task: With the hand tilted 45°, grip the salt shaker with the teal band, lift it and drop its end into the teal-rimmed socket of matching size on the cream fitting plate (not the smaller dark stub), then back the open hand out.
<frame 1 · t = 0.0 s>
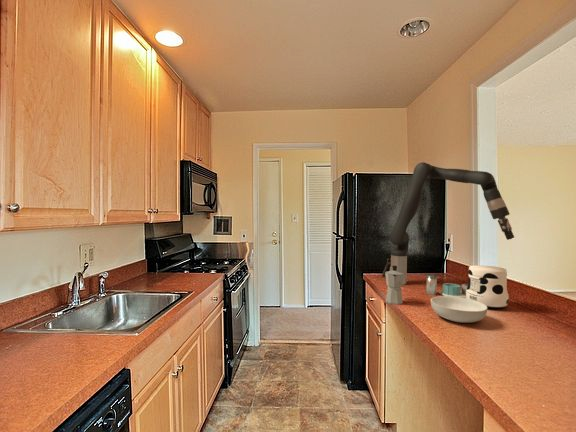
hand: (510, 238, 158), 31 cm above the worktop, tool tilted 20°, fingers open, 8 cm apart
coffee maker: (394, 301, 157), on the worktop
milk container: (486, 305, 152), on the worktop
salt shaker: (431, 293, 172), on the worktop
fitting plate: (459, 295, 168), on the worktop
serving bowl: (457, 319, 132), on the worktop
door stopper: (389, 276, 217), on the worktop
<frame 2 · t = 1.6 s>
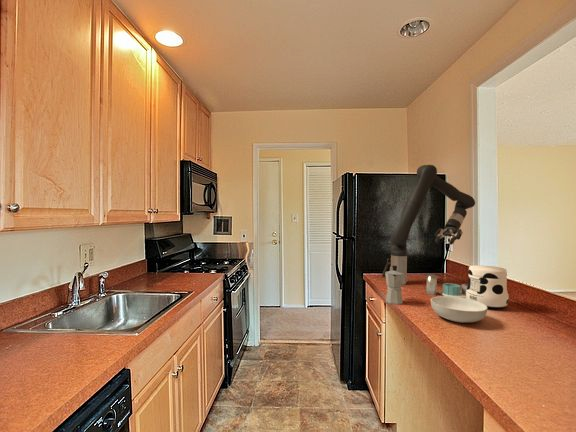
hand: (443, 243, 183), 27 cm above the worktop, tool tilted 45°, fingers open, 8 cm apart
nothing on the worktop moved.
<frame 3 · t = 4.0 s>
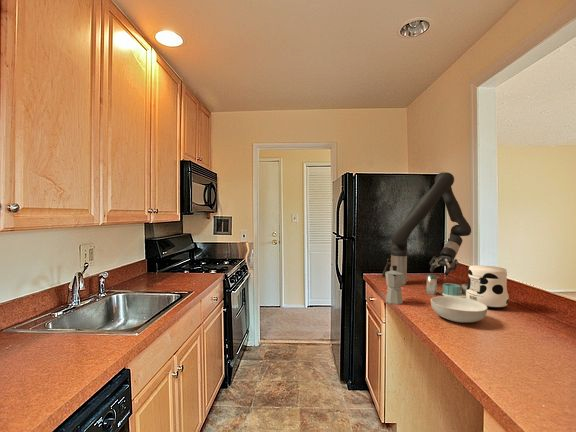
hand: (438, 273, 176), 11 cm above the worktop, tool tilted 45°, fingers open, 8 cm apart
nothing on the worktop moved.
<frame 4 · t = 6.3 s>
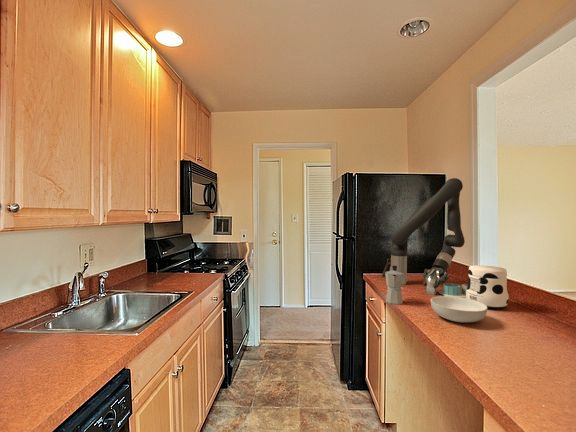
hand: (429, 286, 171), 4 cm above the worktop, tool tilted 45°, fingers closed on salt shaker, 5 cm apart
salt shaker: (431, 293, 172), on the worktop, touching gripper
everything else where it was.
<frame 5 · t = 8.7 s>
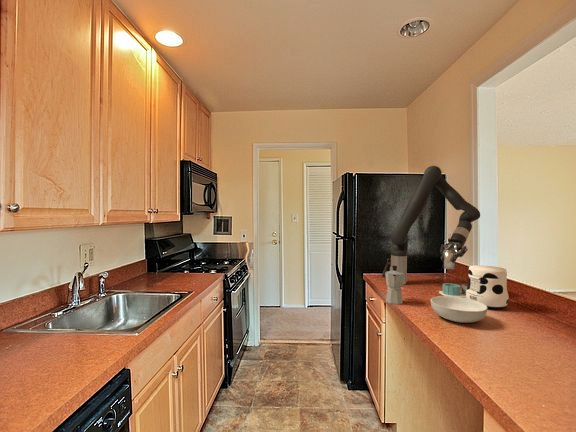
hand: (447, 260, 168), 19 cm above the worktop, tool tilted 45°, fingers closed on salt shaker, 5 cm apart
salt shaker: (449, 268, 169), point 14 cm above the worktop, touching gripper
everything else where it was.
when the fingers open (8 cm above the worktop, at t = 11.0 s): salt shaker drops 2 cm, resting on fitting plate.
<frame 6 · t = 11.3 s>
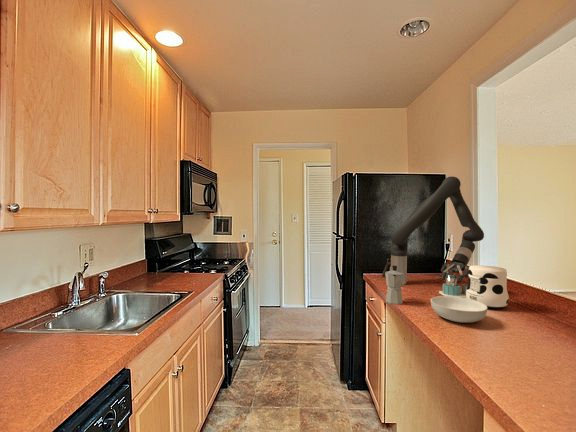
hand: (450, 280, 168), 8 cm above the worktop, tool tilted 45°, fingers open, 8 cm apart
salt shaker: (451, 293, 169), point 1 cm above the worktop, touching fitting plate
everything else where it was.
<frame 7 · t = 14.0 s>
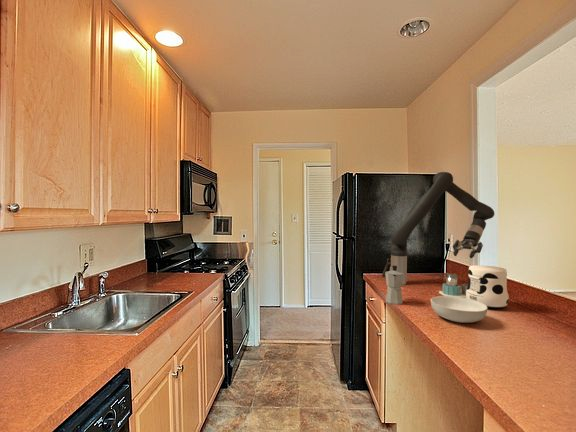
hand: (462, 256, 175), 20 cm above the worktop, tool tilted 45°, fingers open, 8 cm apart
nothing on the worktop moved.
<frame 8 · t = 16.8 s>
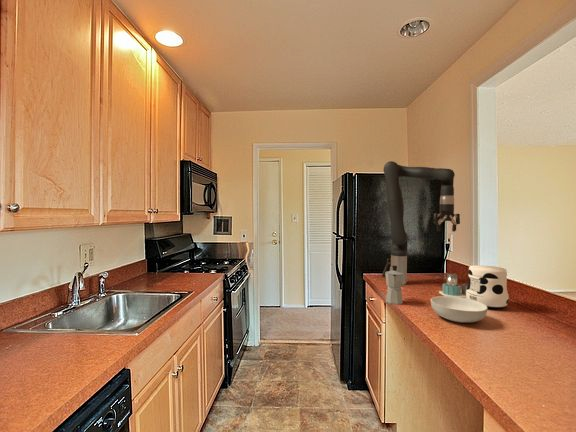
hand: (446, 231, 185), 33 cm above the worktop, tool pointing down, fingers open, 8 cm apart
nothing on the worktop moved.
at the end: salt shaker 0.3 cm from the target spot on the fitting plate, point 1.1 cm above the fitting plate's base; salt shaker tilted 2°; the gripper is holding nothing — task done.
